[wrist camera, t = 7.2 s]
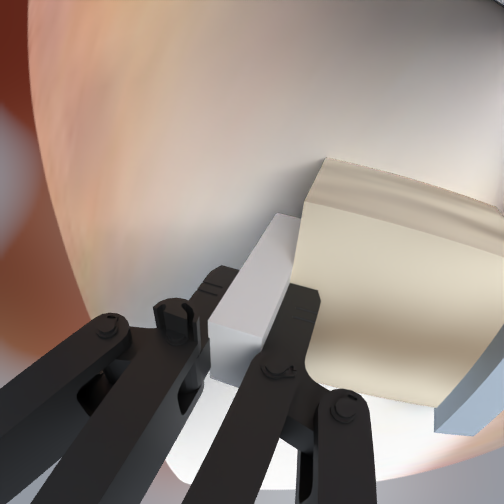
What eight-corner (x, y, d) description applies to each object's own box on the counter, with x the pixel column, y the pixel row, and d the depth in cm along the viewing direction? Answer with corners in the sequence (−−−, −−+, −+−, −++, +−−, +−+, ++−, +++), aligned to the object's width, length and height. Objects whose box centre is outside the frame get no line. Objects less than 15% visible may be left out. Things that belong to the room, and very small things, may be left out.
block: (326, 156, 13) (304, 201, 9) (494, 205, 11) (536, 268, 7) (298, 299, 18) (272, 369, 14) (432, 333, 16) (436, 407, 12)
